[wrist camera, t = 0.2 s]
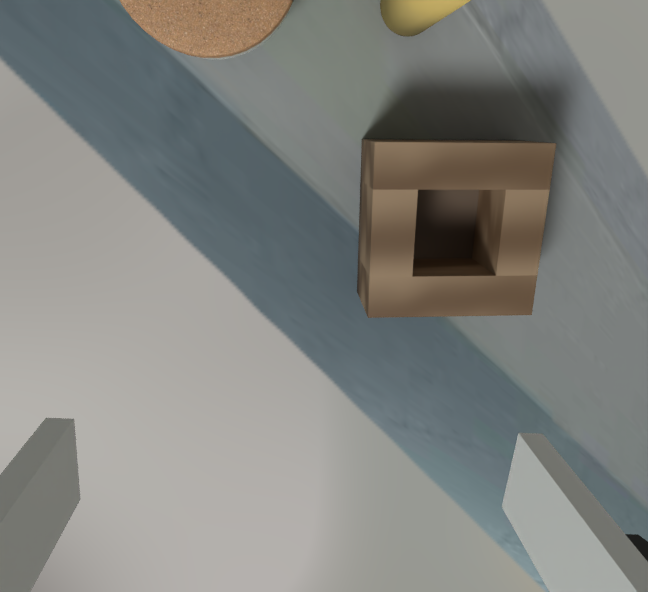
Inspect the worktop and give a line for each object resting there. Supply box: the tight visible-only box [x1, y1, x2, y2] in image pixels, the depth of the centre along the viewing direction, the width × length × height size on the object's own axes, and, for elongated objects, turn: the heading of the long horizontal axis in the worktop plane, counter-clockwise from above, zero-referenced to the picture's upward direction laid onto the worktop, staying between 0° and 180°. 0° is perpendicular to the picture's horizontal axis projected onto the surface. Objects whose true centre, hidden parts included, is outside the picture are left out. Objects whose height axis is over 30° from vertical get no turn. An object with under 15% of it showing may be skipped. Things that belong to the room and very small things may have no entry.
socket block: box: [357, 139, 556, 318], centre depth 39 cm, size 12×12×6 cm
